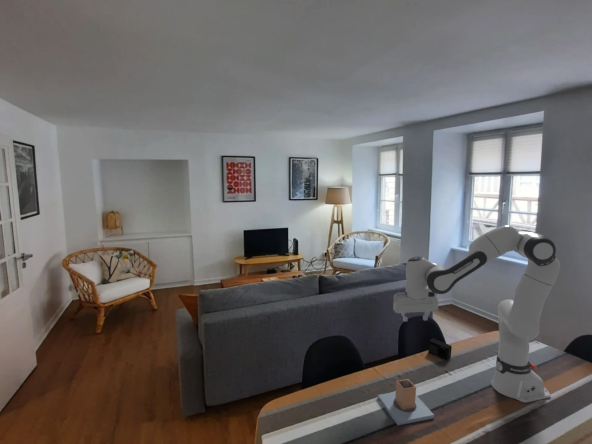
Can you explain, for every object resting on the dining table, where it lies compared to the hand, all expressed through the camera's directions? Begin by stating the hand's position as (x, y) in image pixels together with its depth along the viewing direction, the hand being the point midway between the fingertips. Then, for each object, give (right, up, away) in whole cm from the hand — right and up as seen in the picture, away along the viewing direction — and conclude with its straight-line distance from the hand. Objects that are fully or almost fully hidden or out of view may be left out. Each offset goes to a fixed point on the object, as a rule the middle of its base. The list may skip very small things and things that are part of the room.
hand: (415, 320), depth 153 cm
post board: (-11, -31, -17) cm, 37 cm away
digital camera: (+20, -26, +22) cm, 39 cm away
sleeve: (-11, -29, -18) cm, 36 cm away
